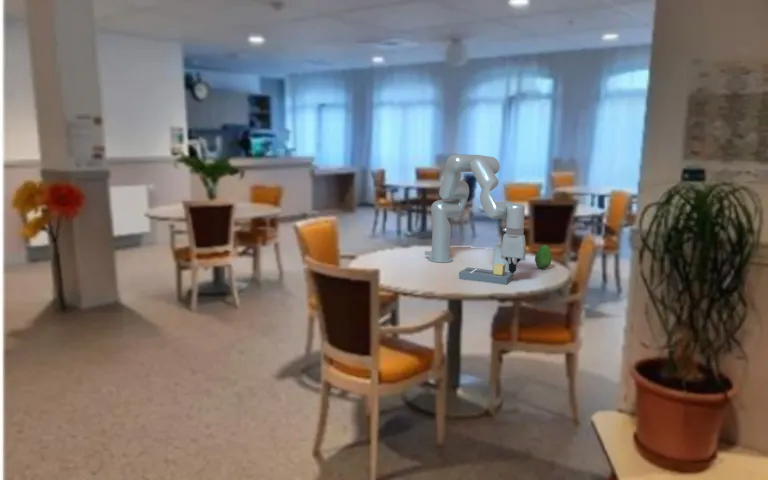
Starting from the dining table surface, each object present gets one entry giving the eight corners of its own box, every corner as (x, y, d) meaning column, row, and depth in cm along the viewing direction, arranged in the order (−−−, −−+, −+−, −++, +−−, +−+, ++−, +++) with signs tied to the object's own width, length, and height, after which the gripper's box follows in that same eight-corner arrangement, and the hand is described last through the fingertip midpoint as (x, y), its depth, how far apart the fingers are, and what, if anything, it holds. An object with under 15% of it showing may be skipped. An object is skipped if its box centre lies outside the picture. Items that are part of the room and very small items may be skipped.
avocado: (554, 269, 287) (555, 245, 285) (542, 271, 284) (543, 246, 282) (542, 266, 294) (543, 243, 292) (530, 267, 291) (532, 244, 288)
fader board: (458, 278, 265) (459, 272, 264) (467, 273, 275) (467, 267, 275) (506, 284, 255) (506, 277, 254) (513, 279, 266) (513, 272, 265)
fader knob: (493, 274, 261) (493, 265, 260) (496, 271, 265) (497, 263, 264) (502, 275, 259) (502, 266, 258) (505, 272, 263) (505, 264, 263)
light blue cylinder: (510, 269, 287) (512, 245, 285) (508, 272, 279) (509, 247, 277) (494, 267, 289) (495, 243, 287) (491, 271, 282) (492, 246, 280)
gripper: (495, 231, 256) (493, 272, 259) (529, 234, 249) (527, 276, 253) (500, 229, 263) (498, 268, 266) (533, 232, 256) (531, 272, 259)
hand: (512, 272), depth 259 cm, fingers closed
